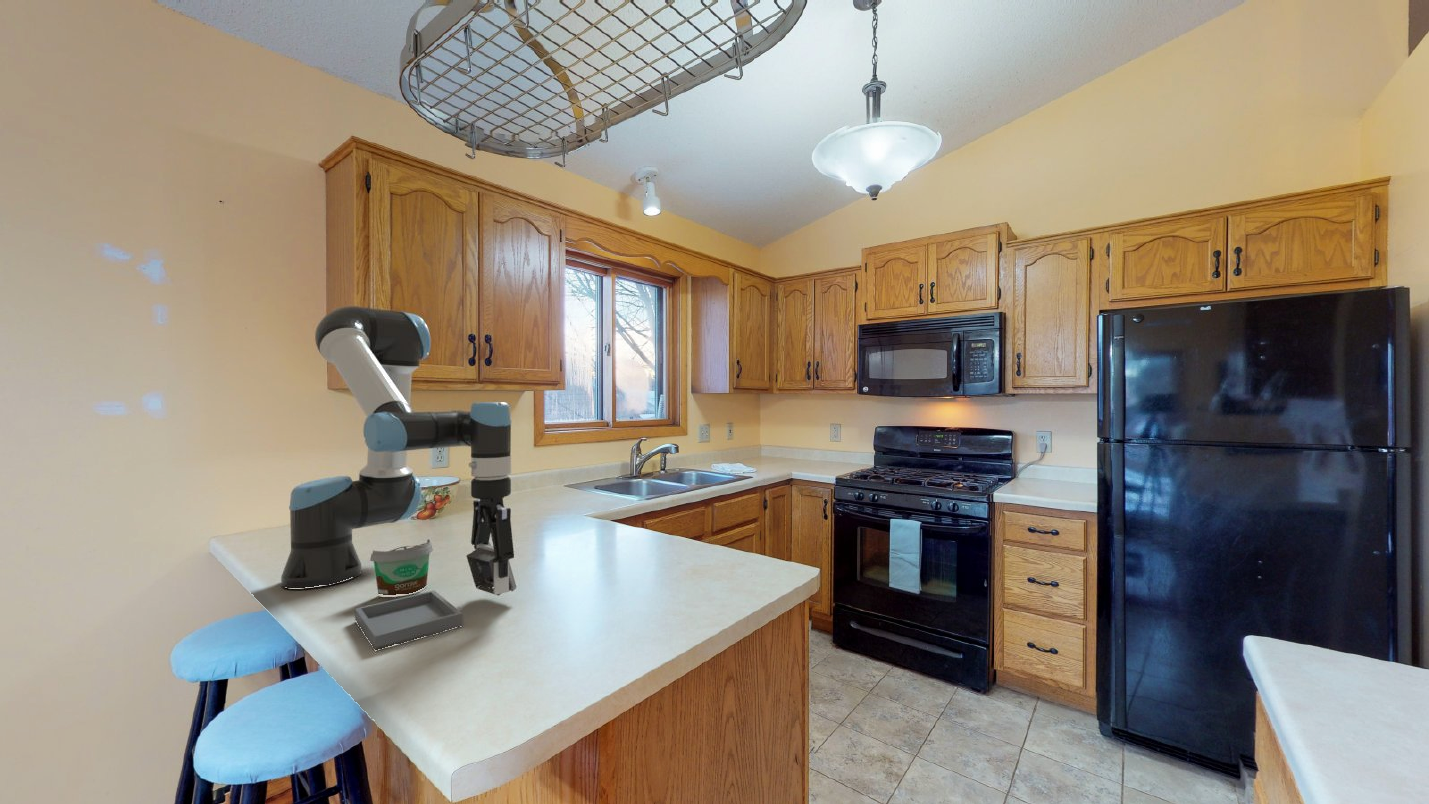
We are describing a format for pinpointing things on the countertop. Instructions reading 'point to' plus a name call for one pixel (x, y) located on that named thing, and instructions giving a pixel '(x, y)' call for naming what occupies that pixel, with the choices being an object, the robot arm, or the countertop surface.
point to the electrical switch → (486, 568)
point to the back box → (407, 619)
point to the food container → (402, 569)
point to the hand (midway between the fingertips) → (491, 586)
